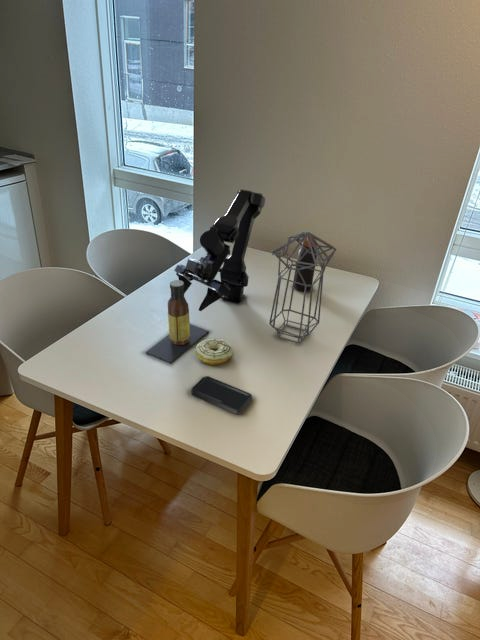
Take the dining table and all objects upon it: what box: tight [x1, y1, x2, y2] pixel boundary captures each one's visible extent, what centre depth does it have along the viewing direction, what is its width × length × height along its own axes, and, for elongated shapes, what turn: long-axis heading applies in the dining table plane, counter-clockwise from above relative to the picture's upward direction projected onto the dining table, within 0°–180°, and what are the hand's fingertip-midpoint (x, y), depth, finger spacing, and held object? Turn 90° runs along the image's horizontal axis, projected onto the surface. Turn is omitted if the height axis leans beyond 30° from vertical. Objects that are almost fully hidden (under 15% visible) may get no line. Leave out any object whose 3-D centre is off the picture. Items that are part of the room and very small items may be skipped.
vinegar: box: [294, 238, 318, 293], centre depth 176 cm, size 7×7×20 cm
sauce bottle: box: [167, 279, 191, 345], centre depth 140 cm, size 6×6×20 cm
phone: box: [190, 375, 253, 415], centre depth 125 cm, size 8×1×15 cm
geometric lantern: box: [268, 231, 337, 344], centre depth 144 cm, size 16×16×35 cm
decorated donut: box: [195, 338, 234, 366], centre depth 140 cm, size 10×11×4 cm
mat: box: [145, 323, 209, 364], centre depth 146 cm, size 20×9×1 cm, turn 150°
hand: (188, 305), depth 143 cm, fingers open, 9 cm apart
